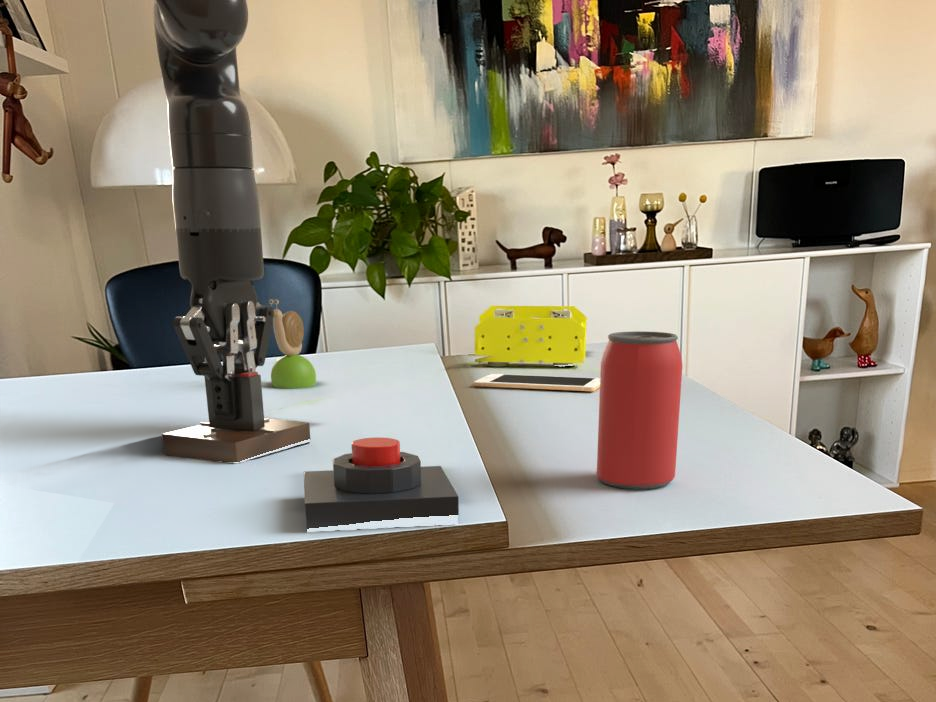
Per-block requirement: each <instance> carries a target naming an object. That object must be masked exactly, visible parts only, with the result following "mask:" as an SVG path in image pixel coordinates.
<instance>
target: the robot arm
mask: <svg viewBox="0 0 936 702" xmlns="http://www.w3.org/2000/svg"><path fill="white" fill-rule="evenodd" d="M152 9H153V11H152V12H153V13H152V15H153V17H152V19H153V28H154V29H153V30H154V37H155V43H156V51H157V57H158V63H159V69H160V73H161V79H162V83H163V88H164V92H165V96H166V102H167V121H168V122H167V123H168V127H167V128H168V136H169V146H170V147H169V148H170V156H171V157H170V158H171V166H172V189H171V190H172V209H173V218H174V227H175V239H176V246H177V257H178V267H179V268H178V269H179V275H180V277H181V278H182V279H183V280H185V281H188V282H190V284H191V295H190V299H189V300H190V301H189V305H190V309H189V311H188V312H187V313H186V315H185V316H175V317H174V318H173V321H172V322H173V323H172V324H173V325H172V326H173V328H174V331H175V332H176V335H177V338H178V339H179V342H180V345H181V346H182V348H183V351H184V353H185V355H186V357H187V360H188V363H189V365H190V366H191V367H190V368H191V369H192V372H193V374H195V376H203V377H204V376H205V377H206V378H207V379H210V381H211V387H212V398H213V409H214V412H215V417H216V418H217V419H218V420H223V421H234V420H237V419H238V417H239V413H238V401H237V389H236V381H233V379H234V376H235V373H239V374H241V373H245V372H256V369H257V368H258V367H264V365H265V362H266V359H267V358H266V357H267V353H268V348H269V343H270V342H269V341H270V338H271V336H270V335H271V332H272V326H273V317H274V310H275V309H274V307H273V306H272V307H271V305H269V306H267V305H262V304H261V303H259V302H258V295H257V292H256V289H255V285H254V281H258V280H262V278H263V277H264V275H265V267H264V265H265V264H264V253H263V239H262V238H263V237H262V225H261V209H260V198H259V197H260V196H259V193H258V192H259V191H258V186H257V182H256V176H255V170H254V168H255V166H254V155H253V154H254V152H253V140H252V139H253V138H252V130H251V129H252V128H251V121H250V115H249V111H248V108H247V106H246V104H245V102H244V101H243V100H242V96H241V93H240V91H241V90H240V78H239V68H238V67H239V66H238V58H237V57H238V56H237V55H238V54H237V47H238V46H239V44H240V43H241V42H242V41H243V39H244V37H245V34H246V32H247V28H248V23H249V9H248V3H247V0H153V8H152ZM214 343H218V344H214ZM254 351H255V352H254ZM219 355H220V356H221V358H222V361H221V359H220V356H219ZM202 357H203V358H204V361H203V358H202ZM205 377H204V378H205Z"/></svg>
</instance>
